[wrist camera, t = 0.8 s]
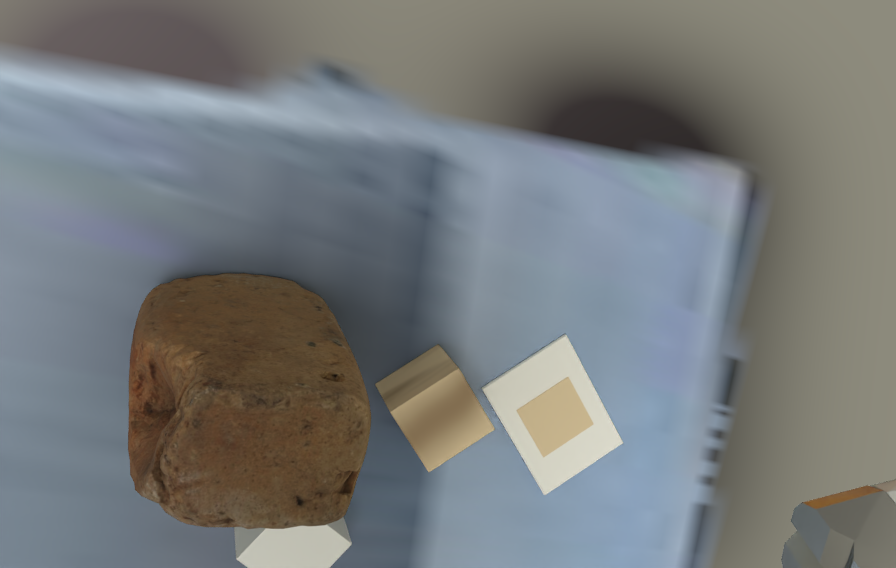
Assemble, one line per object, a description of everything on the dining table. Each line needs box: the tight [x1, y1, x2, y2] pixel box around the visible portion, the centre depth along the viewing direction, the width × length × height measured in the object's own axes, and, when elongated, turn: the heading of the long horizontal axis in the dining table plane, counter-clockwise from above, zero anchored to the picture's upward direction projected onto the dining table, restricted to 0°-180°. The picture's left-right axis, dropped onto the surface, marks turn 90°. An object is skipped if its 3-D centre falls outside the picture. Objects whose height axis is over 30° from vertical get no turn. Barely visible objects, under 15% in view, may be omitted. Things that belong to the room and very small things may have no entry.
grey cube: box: [234, 516, 352, 568], centre depth 54 cm, size 5×5×5 cm
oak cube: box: [375, 344, 495, 472], centre depth 55 cm, size 5×5×5 cm
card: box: [482, 334, 623, 495], centre depth 60 cm, size 10×7×1 cm
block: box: [128, 273, 371, 529], centre depth 43 cm, size 11×8×20 cm
